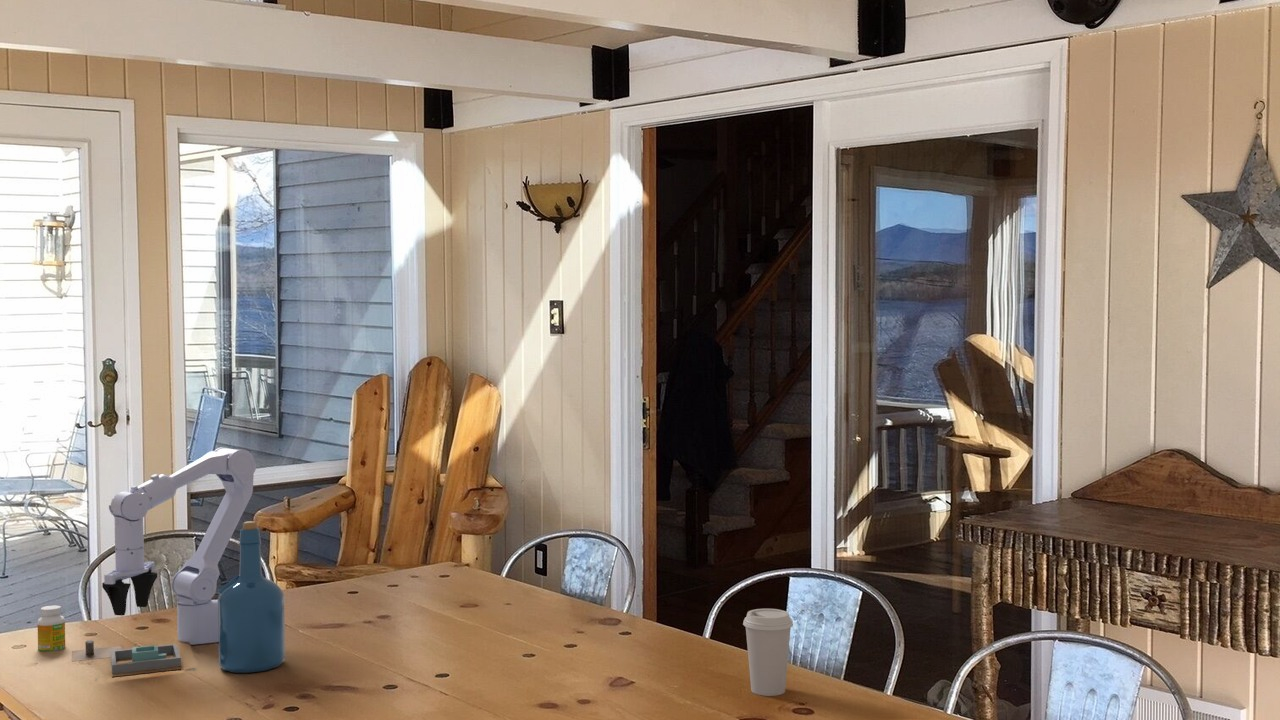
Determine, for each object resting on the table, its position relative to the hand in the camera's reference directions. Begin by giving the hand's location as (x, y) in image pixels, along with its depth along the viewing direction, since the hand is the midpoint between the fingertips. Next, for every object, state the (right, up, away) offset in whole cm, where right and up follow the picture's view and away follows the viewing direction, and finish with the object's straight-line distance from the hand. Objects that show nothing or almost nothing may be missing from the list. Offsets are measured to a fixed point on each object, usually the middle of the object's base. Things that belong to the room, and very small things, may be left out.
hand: (131, 610), depth 267 cm
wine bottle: (+29, -10, -9) cm, 32 cm away
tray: (+7, -10, -9) cm, 15 cm away
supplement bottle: (-18, -10, +3) cm, 21 cm away
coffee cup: (+134, -10, -29) cm, 137 cm away
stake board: (-6, -10, -2) cm, 12 cm away
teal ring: (+7, -9, -9) cm, 15 cm away
